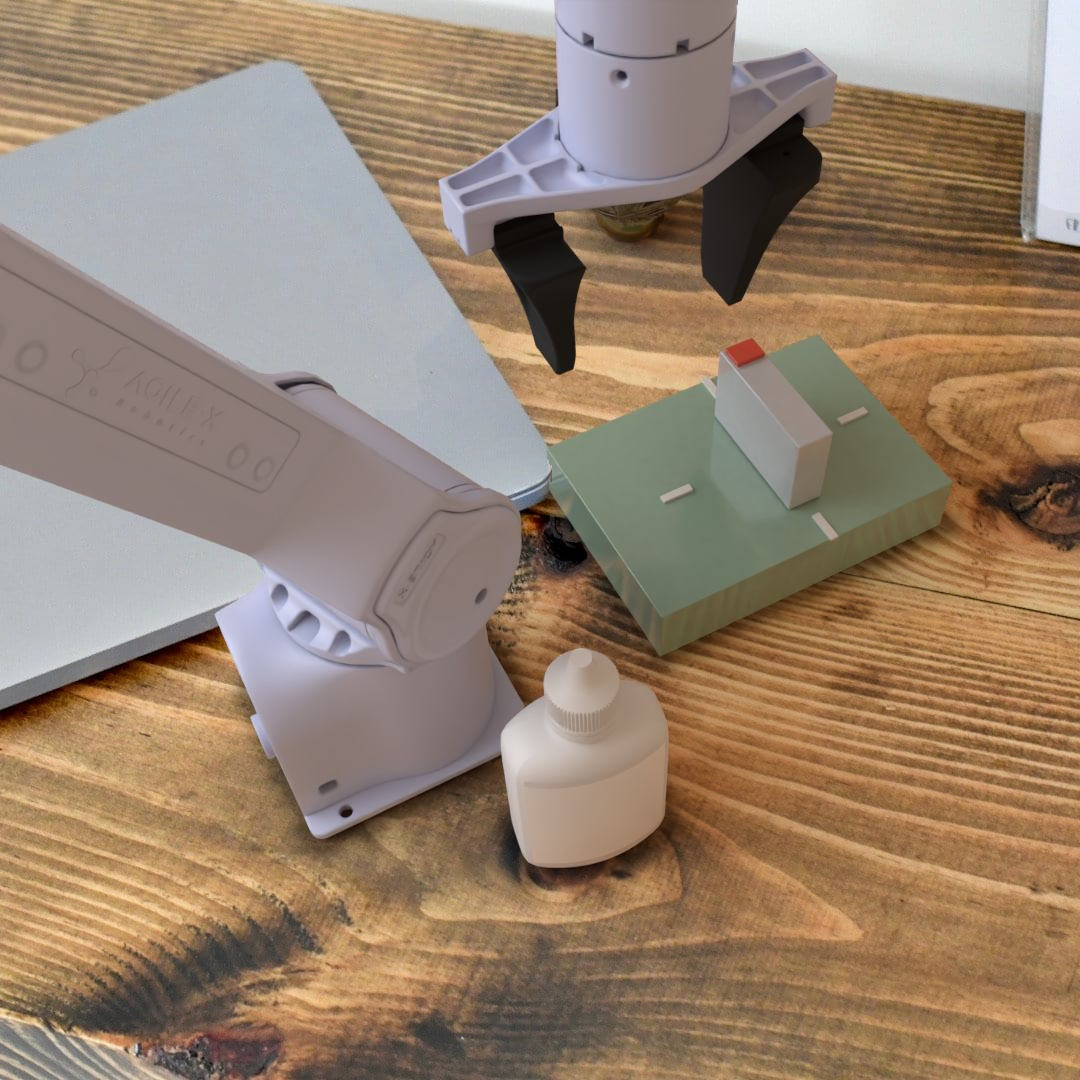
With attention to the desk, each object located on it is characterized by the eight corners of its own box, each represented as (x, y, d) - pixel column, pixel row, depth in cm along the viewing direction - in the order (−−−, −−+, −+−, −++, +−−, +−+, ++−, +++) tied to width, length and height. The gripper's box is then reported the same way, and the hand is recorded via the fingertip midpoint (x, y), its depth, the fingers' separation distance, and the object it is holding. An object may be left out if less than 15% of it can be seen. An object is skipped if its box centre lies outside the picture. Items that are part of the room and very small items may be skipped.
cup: (538, 252, 68) (530, 123, 62) (588, 167, 72) (585, 37, 66) (674, 284, 66) (680, 154, 60) (718, 195, 70) (727, 64, 64)
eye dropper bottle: (653, 889, 48) (662, 734, 38) (503, 864, 49) (475, 706, 39) (670, 782, 50) (682, 610, 41) (527, 759, 51) (505, 586, 41)
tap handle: (821, 496, 54) (835, 428, 51) (788, 510, 54) (800, 444, 50) (744, 402, 57) (752, 333, 54) (713, 415, 57) (719, 346, 54)
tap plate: (661, 659, 53) (663, 617, 51) (547, 488, 59) (544, 443, 57) (941, 526, 57) (956, 481, 54) (808, 377, 62) (816, 329, 60)
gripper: (771, -113, 45) (741, 204, 56) (383, 13, 41) (432, 323, 52) (895, -15, 41) (837, 304, 52) (477, 132, 38) (509, 441, 48)
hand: (639, 322), depth 52 cm, fingers open, 7 cm apart
